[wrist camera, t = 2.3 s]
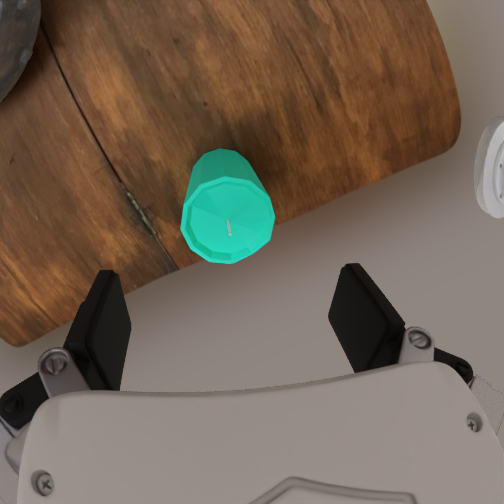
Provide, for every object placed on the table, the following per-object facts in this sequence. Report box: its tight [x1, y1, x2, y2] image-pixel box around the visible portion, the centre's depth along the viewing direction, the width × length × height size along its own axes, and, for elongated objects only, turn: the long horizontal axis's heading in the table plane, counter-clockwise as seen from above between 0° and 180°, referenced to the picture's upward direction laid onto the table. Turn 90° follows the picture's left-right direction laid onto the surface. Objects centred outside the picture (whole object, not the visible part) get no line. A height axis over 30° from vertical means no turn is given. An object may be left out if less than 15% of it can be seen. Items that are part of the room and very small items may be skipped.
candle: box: [181, 148, 275, 264], centre depth 21 cm, size 6×6×12 cm
